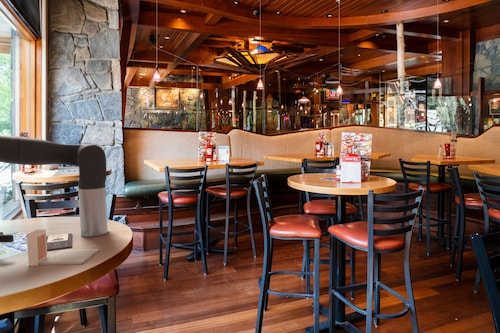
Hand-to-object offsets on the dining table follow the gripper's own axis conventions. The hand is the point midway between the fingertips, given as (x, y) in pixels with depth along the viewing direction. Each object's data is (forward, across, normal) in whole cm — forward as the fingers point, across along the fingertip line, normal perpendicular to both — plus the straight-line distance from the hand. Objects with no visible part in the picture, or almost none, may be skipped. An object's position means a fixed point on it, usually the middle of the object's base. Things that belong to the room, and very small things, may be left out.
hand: (3, 242), depth 105 cm
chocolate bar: (+5, +20, +7) cm, 22 cm away
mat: (+17, +4, +6) cm, 19 cm away
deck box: (+10, 0, +6) cm, 11 cm away
